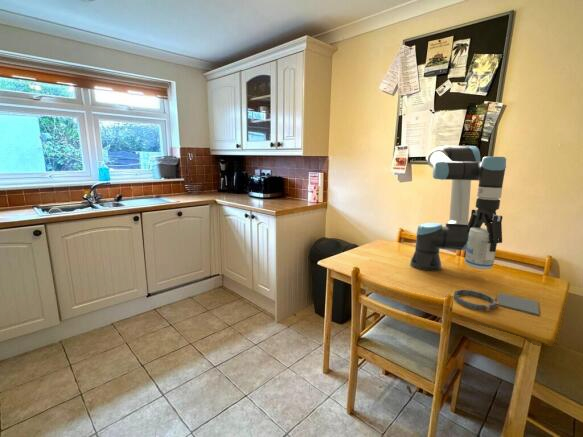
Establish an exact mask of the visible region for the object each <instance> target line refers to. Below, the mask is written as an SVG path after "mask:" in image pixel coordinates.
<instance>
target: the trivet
mask: <svg viewBox="0 0 583 437" xmlns="http://www.w3.org/2000/svg"><path fill="white" fill-rule="evenodd" d="M496 302H498V307H503V308H507V309H511V310H515V311H519V312H523V313H526V314H531V315H535V316H538V317H540V312H539V310H540V309H539V303H538V300H533V299H530V298H525V297H520V296H516V295H511V294H506V293H502V292H498V294H497V300H496Z"/></svg>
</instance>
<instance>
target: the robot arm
mask: <svg viewBox="0 0 583 437" xmlns="http://www.w3.org/2000/svg"><path fill="white" fill-rule="evenodd" d="M426 162H427V165H428V166H429V167H430V168H432V177H433V179H435V180H441V181H444V180H447V181H448V180H451V193H450V206H449V219H448V221H447V222H446V223H445V226H443V225H442V223H440V222H439V223H438V222H425V223H424V222H423V223H421V224H419V225H417V229H416V241H415V249H414V252H413V255H412V257H411V260H410V266H412V267H413V268H416V269H419V270H421V271H433V272H436V271H440V270H441V269H442V261H441V256H440V249H441V250H452V251H458V252H459V251H463V252H466V249H467V242H468V236H469V231H470V228H473V227H474V228H482V225H483V224H484V226H485V228H487V232H488V233H489V241H490V242H488V244H487V250H486V257H485V259H486V260H494V261H495V257H494V254H495V255H496V252H495V251H497V244H502V243H503V228H502V226H503V225H502V223H503V222H502V221H503V215H497V210H499V209H500V205H501V200H500V199H501V198H502V194H503V193H502V192H503V184H504V177H505V174H506V173H505V172H506V168H507V158H506V157H505V156H484V157H482V159H481V153H480V149H479V147H477V146H475V145H442V146H439V147H435V148H433V149H432V150H430V151H429V153H427V157H426ZM472 181H478V187H477V188H478V189H477V195H476V196H477V198H476V200H475V208H477V209H471V212H470V204H471V203H470V201H471V186H472Z"/></svg>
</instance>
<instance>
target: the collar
mask: <svg viewBox="0 0 583 437" xmlns="http://www.w3.org/2000/svg"><path fill="white" fill-rule="evenodd" d="M459 296H472V297H477V298H481V299H482V300H484V301H487V302H488V304H481V303H480V304H479V303H474V302H470V301H468V300H465V299H464V298H463V299H462V298H461V297H459ZM453 300H454V301H455V302H456V303H458V304H459V305H461V306H463V307H465V308H468V309H472V310H475V311H484V312H485V313H487V312H490V311H491V310H494V309H498V307H499V306H498V302H497V301H496V299H494V298H493V297H492V296H491V295H488V294H487V293H483V292H481V291H477V290H473V289H458V290H455V292H454V293H453Z"/></svg>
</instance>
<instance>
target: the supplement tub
mask: <svg viewBox="0 0 583 437" xmlns="http://www.w3.org/2000/svg"><path fill="white" fill-rule="evenodd" d="M488 242H490V241H489V233H488V232H487V227H480V228H474V227H473V228H470V231H469V236H468V242H467V249H466V251H465V257H464V264H465V265H466V266H468V267H469V268H472V269H477V270H481V271H482V270H491V269H492V268H494V262H495V259H494V260H486V259H485V257H486V250H487V244H488ZM496 251H497V250H496ZM496 251H495V254H494V258H495V256H496Z"/></svg>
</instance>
